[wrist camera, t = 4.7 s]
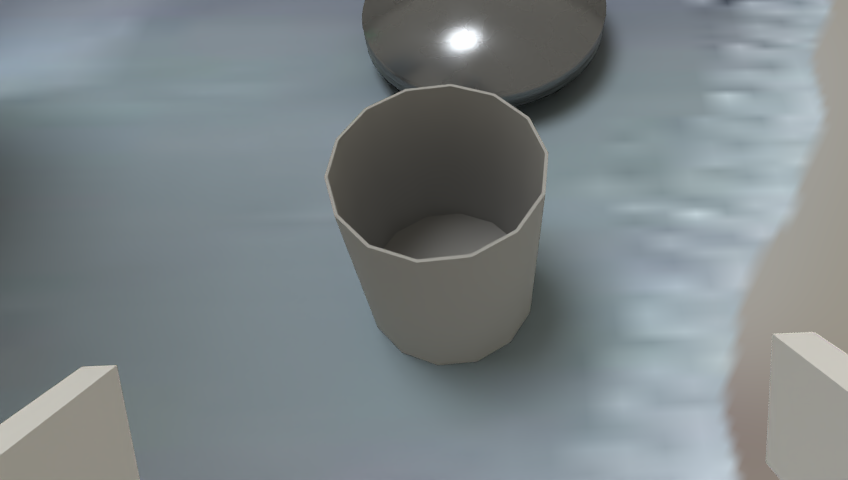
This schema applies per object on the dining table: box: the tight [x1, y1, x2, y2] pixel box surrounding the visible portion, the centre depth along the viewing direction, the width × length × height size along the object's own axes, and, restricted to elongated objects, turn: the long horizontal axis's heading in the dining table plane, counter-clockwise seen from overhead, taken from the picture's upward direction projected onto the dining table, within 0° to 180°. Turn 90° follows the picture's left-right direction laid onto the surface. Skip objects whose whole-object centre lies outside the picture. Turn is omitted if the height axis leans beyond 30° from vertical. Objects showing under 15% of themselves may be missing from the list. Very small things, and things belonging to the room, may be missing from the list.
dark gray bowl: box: [362, 0, 606, 107], centre depth 39 cm, size 15×15×3 cm
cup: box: [324, 84, 548, 365], centre depth 27 cm, size 8×8×10 cm
